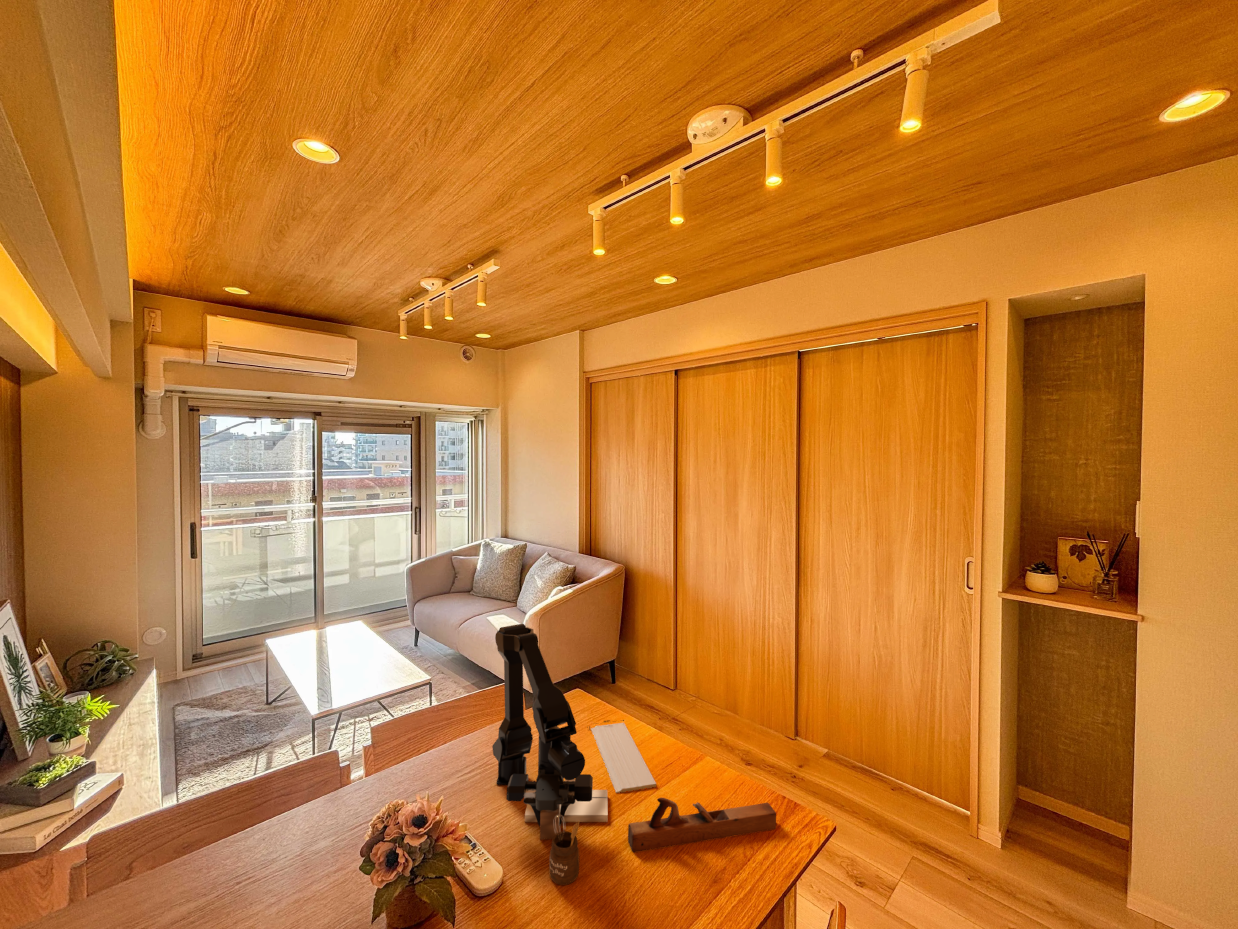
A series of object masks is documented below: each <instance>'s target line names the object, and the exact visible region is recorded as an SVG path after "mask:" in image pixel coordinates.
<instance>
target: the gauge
mask: <svg viewBox="0 0 1238 929" xmlns="http://www.w3.org/2000/svg"><path fill="white" fill-rule="evenodd" d="M558 814H559V816H560V805H559V807H558V809H557V810H555V811H551V810H542V811H541V812H540V826H539V840H553V837H554V836H555V835H556V834H558V833H560V831H559V829H560V826H559V821H558V816H556V815H558ZM555 817H557V818H555ZM553 821H554V823H553ZM555 821H556V824H555ZM555 829H557V830H555ZM554 830H555V831H554ZM557 832H558V833H557Z"/></svg>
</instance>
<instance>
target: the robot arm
mask: <svg viewBox="0 0 1238 929" xmlns="http://www.w3.org/2000/svg"><path fill="white" fill-rule="evenodd" d="M526 626H527V625H525V624H524V623H518V624H512V625H507V626H502V627H501V626H500V627H499V629H498V630H497V632H496V633H495V643H496V644H495V645H496V647H497V648H496V649H497V652H498V653H499V654H500V656H501V657H502V659H503V672H504V673H503V674H504V675H503V676H504V677H503V678H504V683H503V684H504V718H503V720H502V722H501V724H500V725H499V728H498V736H497V737H498V738H497V739H496V740H495V742H494V743H493V744H492V748H491V749H492V755H493V756H494V757H495V759H496V760H497V761H498V764H497V766H498V767H497V768H498V769H497V779H496V785H503V786H504V785H506V786H507V788H506V800H507V802H521V801H522V800H523V803H524V804H525V805H527V804H529V805H531V807H532V809H533V811H534V813H535V816H536V819H537V822H536V823H537V825H538V826H539V827H540V812H541V811H542V810H551V811H555V810H557V809H558V807H559V805H561V809H560V816H559V820H560V822H559V827H561V826H562V824H563V822H562V820H563V817H564V815H565V812H566V810H567V808H568V806H569V805H570V804H574V803H575V800H577V801H587V802H589V801H591V800H592V790H593V786H594V785H593V780H594V778H593V776H592V774H591V773H589V774H587V773H585V774H584V773H583V771H584V769H585V766H586V759H585V756H584V754H583V753H582V752H581V751H580V750H579V749H578V745H577V744H576V743H575V742H573V741H572V740H571V736H573V735H577V732H578V731H577V729H576V728H577V727H576V725H577V723H576V719H575V717H574V713H573V712H572V708H571V706H570V703H569V701H568V700H567V698H566V697H565V695H564V692H563V691H562V690H561V689H560V688H559V687H557V686H556V685H555V684H554V682H553V680H552V677H551V675H550V673H549V670H548V667H547V665H546V662H545V660H544V656H543V654H542V651H541V649H540V646H539V638H538V636H537V634H536V633H534V628H532V627H531V628H530V627H528V626H527V627H526ZM524 672H525V674H526V677H527V680H528V682H529V686H530V689H531V690H532V694H533V702H532V706H531V708H532V714H533V715H532V717H533V722H534V724H535V728H536V729H537V732H538V757H537V758H538V759H537V762H538V763H537V777H536V780H533V781H532V780H529V774H528V773H527V756H525V755H527V754H530V753H531V751H532V750H531V749H532V744H533V739H534V738H533V734H532V727H531V725H530V724H529V723H528V722H527V720H526V719H525V715H524V714H525V708H524V705H525V704H524ZM564 724H567V725H566V726H563V727H559V726H561V725H564ZM582 773H583V774H582ZM562 816H563V817H562ZM561 818H562V819H561Z"/></svg>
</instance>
